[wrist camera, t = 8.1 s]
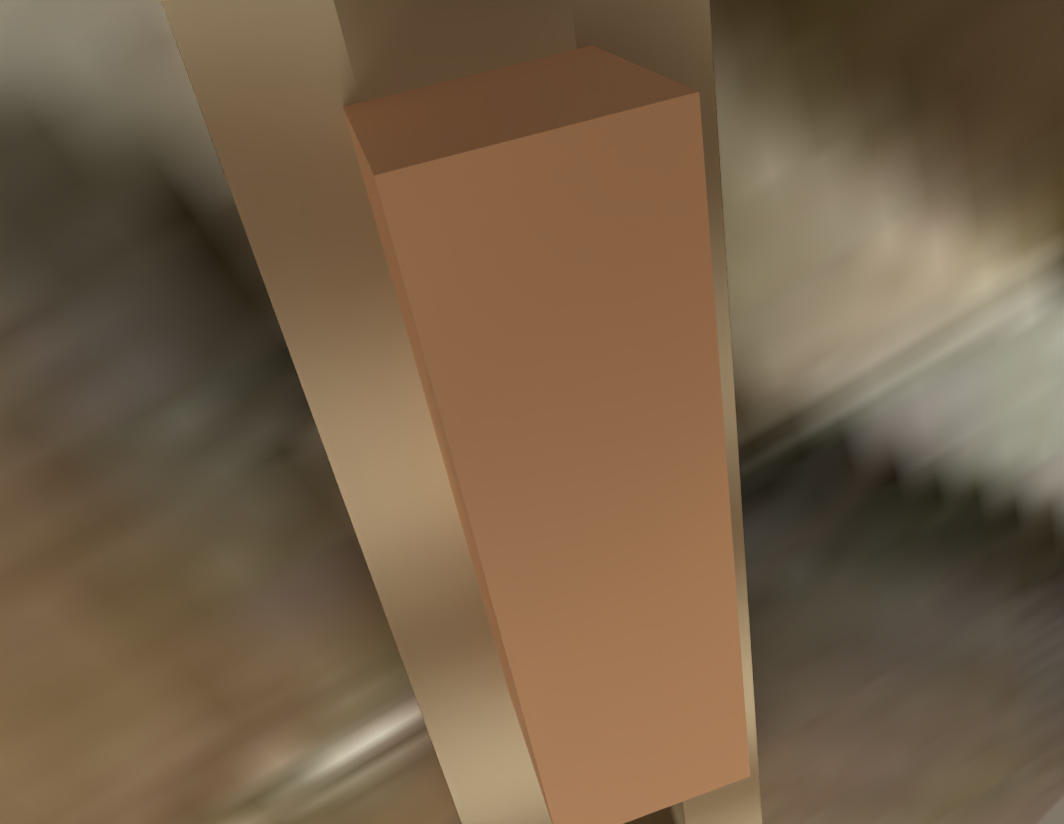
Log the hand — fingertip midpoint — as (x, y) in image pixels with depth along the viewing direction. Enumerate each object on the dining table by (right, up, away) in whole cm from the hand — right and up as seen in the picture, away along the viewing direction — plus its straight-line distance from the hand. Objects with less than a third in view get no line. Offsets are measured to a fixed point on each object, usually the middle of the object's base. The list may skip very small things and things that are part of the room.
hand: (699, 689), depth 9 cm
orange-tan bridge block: (-2, +4, +7) cm, 8 cm away
